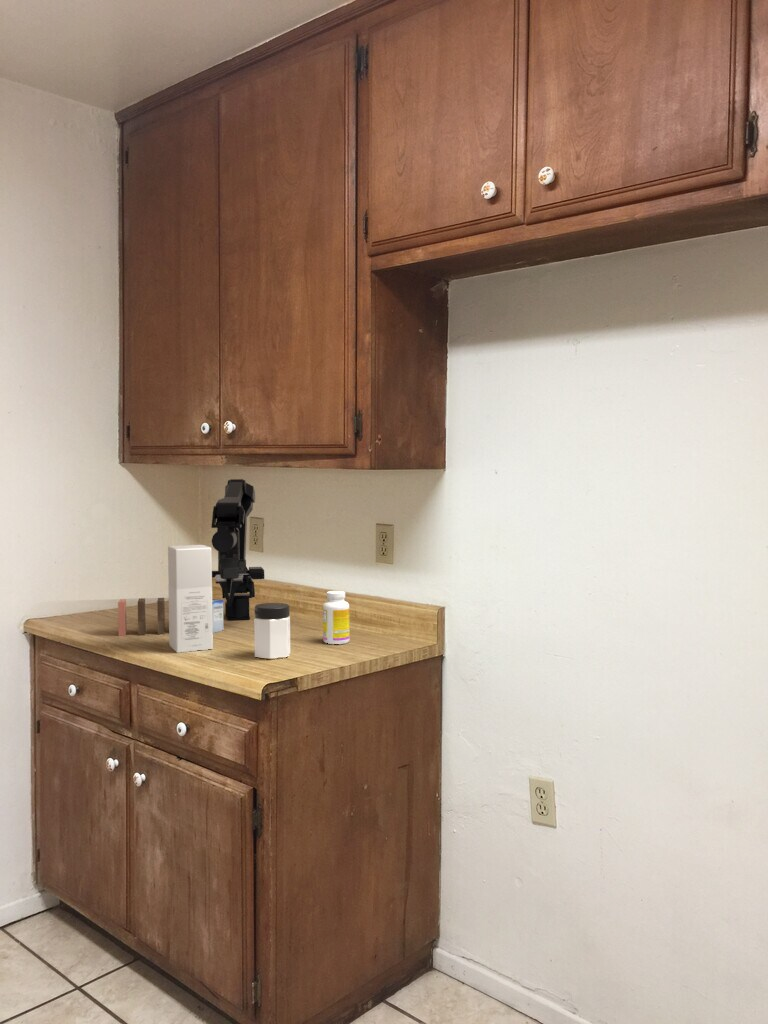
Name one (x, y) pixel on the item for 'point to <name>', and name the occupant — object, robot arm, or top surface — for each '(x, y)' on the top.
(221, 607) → the medicine box
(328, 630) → the supplement bottle
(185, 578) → the tall white carton
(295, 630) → the top surface
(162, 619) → the tile
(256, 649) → the jar
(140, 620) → the tile
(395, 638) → the top surface
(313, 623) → the top surface
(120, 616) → the tile
